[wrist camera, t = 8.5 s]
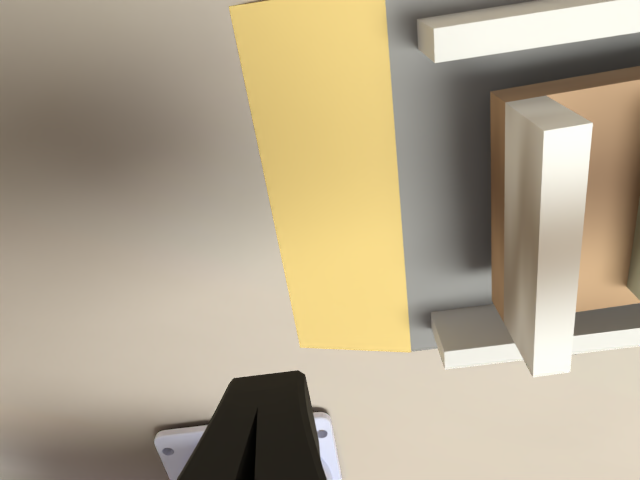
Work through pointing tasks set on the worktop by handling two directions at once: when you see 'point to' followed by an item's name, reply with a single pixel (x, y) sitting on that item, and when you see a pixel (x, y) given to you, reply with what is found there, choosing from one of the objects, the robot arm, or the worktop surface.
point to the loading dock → (408, 158)
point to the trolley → (564, 207)
